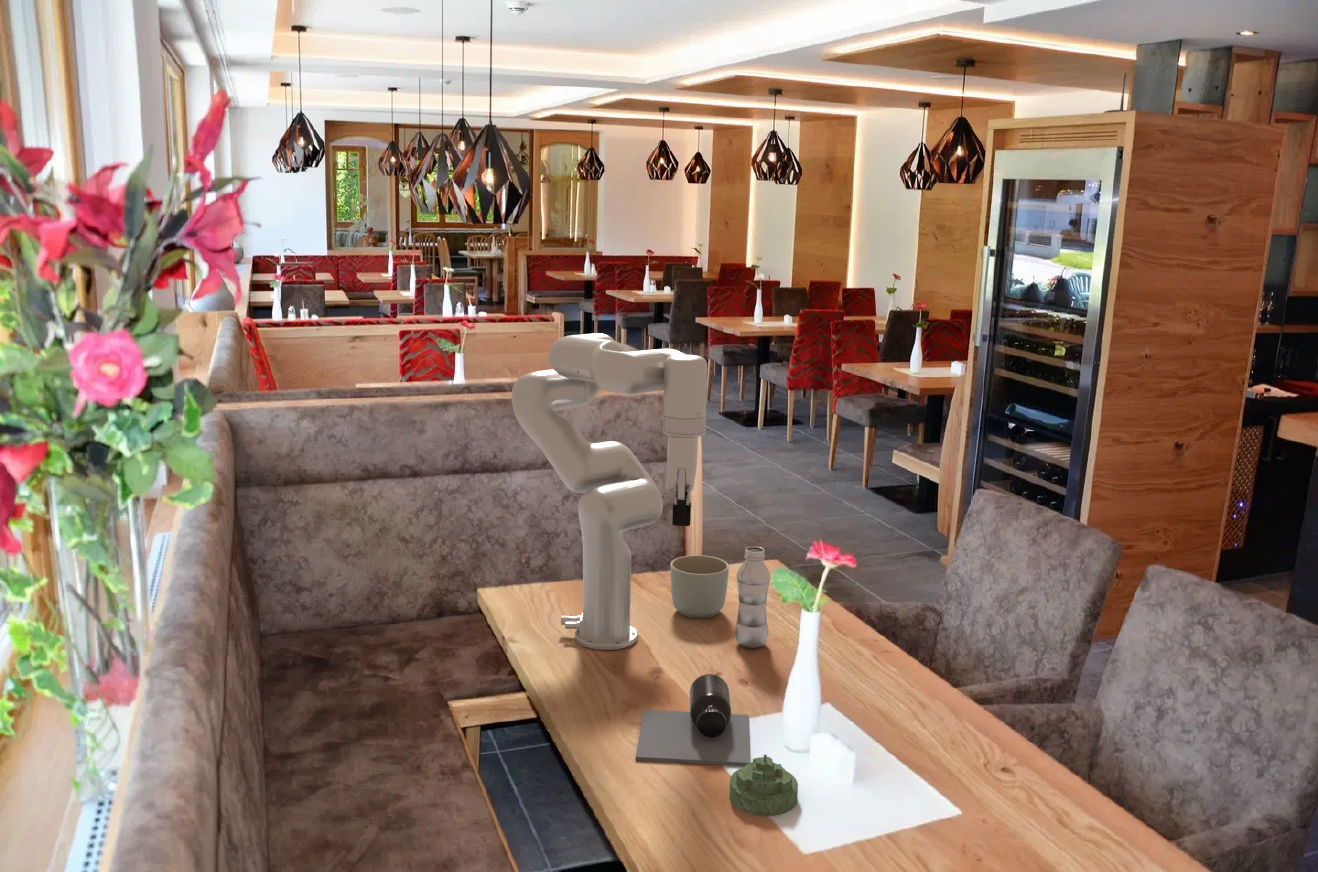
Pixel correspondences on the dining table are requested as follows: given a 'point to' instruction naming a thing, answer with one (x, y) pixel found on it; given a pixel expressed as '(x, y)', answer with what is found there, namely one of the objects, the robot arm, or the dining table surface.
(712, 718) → the supplement bottle
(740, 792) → the decorative artifact
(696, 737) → the mat
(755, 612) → the plastic bottle
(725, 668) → the dining table surface
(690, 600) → the planter
